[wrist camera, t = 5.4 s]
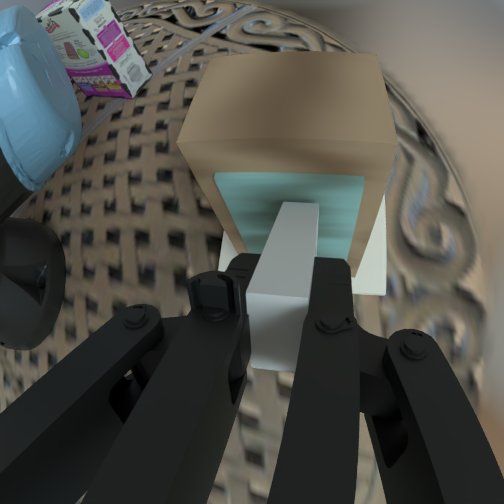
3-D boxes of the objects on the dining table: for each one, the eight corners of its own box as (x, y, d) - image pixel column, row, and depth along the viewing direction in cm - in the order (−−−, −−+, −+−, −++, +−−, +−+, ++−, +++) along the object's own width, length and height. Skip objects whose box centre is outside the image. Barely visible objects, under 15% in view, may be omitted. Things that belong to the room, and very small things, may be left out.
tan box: (246, 274, 24) (174, 148, 11) (257, 201, 26) (211, 57, 13) (354, 281, 22) (399, 150, 9) (355, 206, 24) (376, 54, 12)
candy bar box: (155, 73, 35) (100, -20, 20) (134, 100, 34) (67, 7, 19) (104, 72, 39) (50, 0, 23) (85, 96, 38) (24, 25, 22)
